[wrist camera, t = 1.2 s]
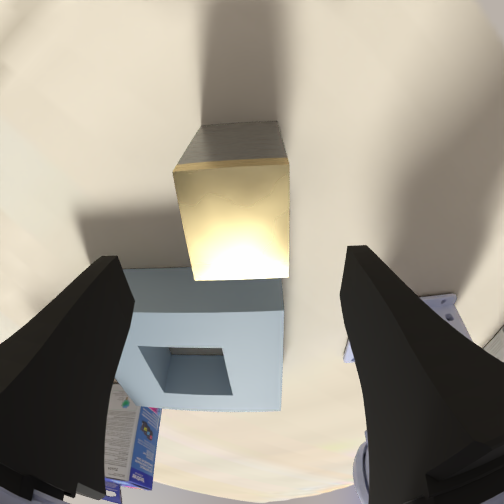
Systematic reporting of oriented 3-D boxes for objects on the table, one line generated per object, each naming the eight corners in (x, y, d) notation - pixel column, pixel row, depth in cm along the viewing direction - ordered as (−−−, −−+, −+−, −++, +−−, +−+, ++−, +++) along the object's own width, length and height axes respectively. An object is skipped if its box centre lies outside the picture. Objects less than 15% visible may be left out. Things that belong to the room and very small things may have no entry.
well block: (279, 264, 21) (284, 310, 18) (279, 373, 30) (280, 410, 26) (91, 269, 22) (70, 310, 18) (144, 371, 30) (136, 405, 27)
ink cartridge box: (105, 401, 36) (84, 494, 25) (82, 380, 33) (53, 481, 22) (167, 403, 35) (151, 510, 23) (145, 381, 32) (122, 502, 20)
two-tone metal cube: (277, 120, 16) (289, 164, 10) (279, 203, 18) (288, 277, 13) (201, 125, 16) (172, 172, 10) (211, 206, 19) (194, 280, 13)
